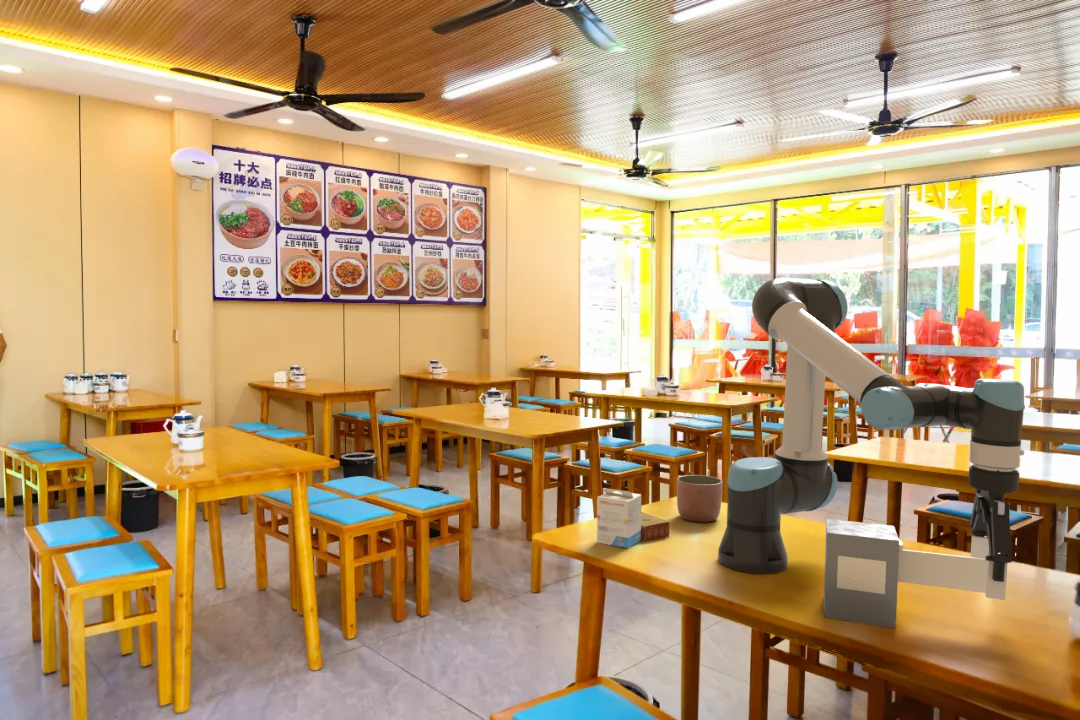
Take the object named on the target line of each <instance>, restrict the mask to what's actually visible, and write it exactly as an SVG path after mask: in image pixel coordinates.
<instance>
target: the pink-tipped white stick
mask: <svg viewBox="0 0 1080 720" xmlns="http://www.w3.org/2000/svg"><path fill="white" fill-rule="evenodd" d="M987 566H988V561H986V560H985V559H983V558H974V557H971V556H966V555H965V556H964V555H957V554H955V555H954V554H947V553H939V552H929V551H921V550H914V549H913V550H911V549H904V548H903V549H899V563H898V583H906V584H912V585H913V584H915V585H919V586H920V585H921V586H929V587H936V588H944V589H951V590H958V591H959V590H960V591H969V592H975V593H983V594H986V581H987Z"/></svg>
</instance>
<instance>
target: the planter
mask: <svg viewBox="0 0 1080 720" xmlns="http://www.w3.org/2000/svg"><path fill="white" fill-rule="evenodd" d="M723 482H724V481H723V479H721V478H719V477H715V476H709V475H704V474H703V475H702V474H686V475H680V476H678V477H677V478H676V501H677V502H676V503H677V504H676V506H677V511H678V514H679V516H681V518H683V519H685V520H686V521H689V522H690V521H691V522H696V523H708V522H713V521H715V520H717V519H718V518H719V516H720V514H721V508H722V495H723Z"/></svg>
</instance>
